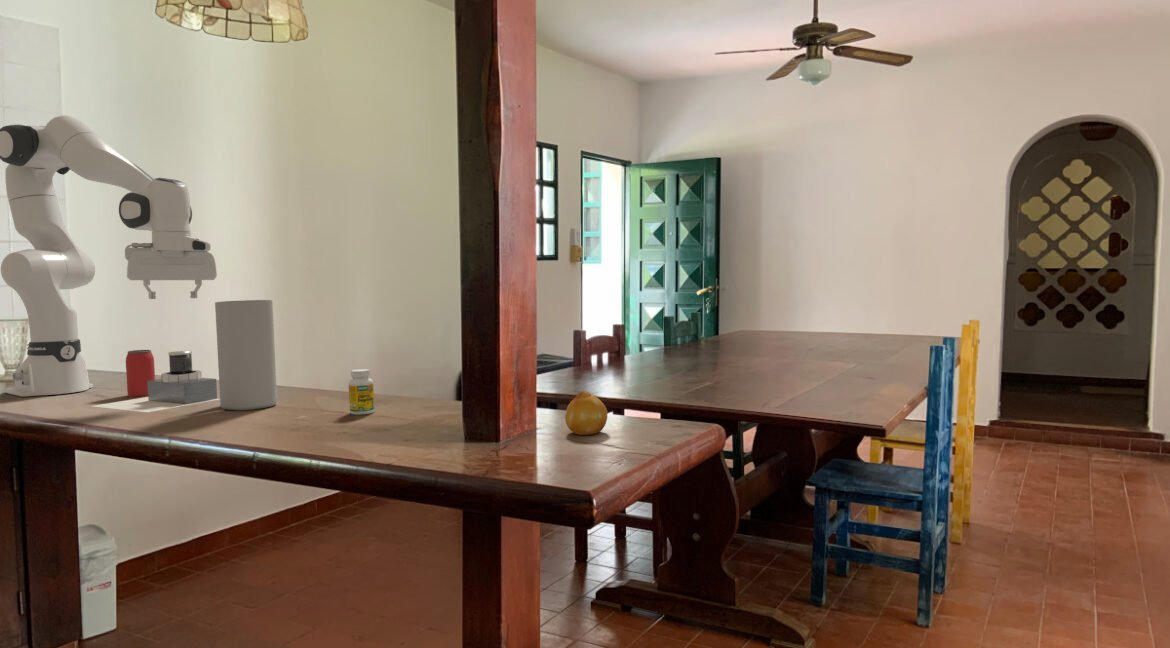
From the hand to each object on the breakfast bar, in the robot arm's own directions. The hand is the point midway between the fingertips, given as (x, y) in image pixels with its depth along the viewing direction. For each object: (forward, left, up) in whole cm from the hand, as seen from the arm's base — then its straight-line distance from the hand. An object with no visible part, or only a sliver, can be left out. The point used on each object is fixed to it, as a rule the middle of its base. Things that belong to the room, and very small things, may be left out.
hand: (173, 298), depth 210 cm
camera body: (+5, -2, -25) cm, 26 cm away
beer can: (-13, -1, -26) cm, 29 cm away
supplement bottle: (+60, +3, -26) cm, 65 cm away
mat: (+3, -8, -26) cm, 27 cm away
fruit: (+117, +3, -26) cm, 120 cm away
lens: (+5, -2, -20) cm, 21 cm away
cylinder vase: (+28, -1, -26) cm, 38 cm away
